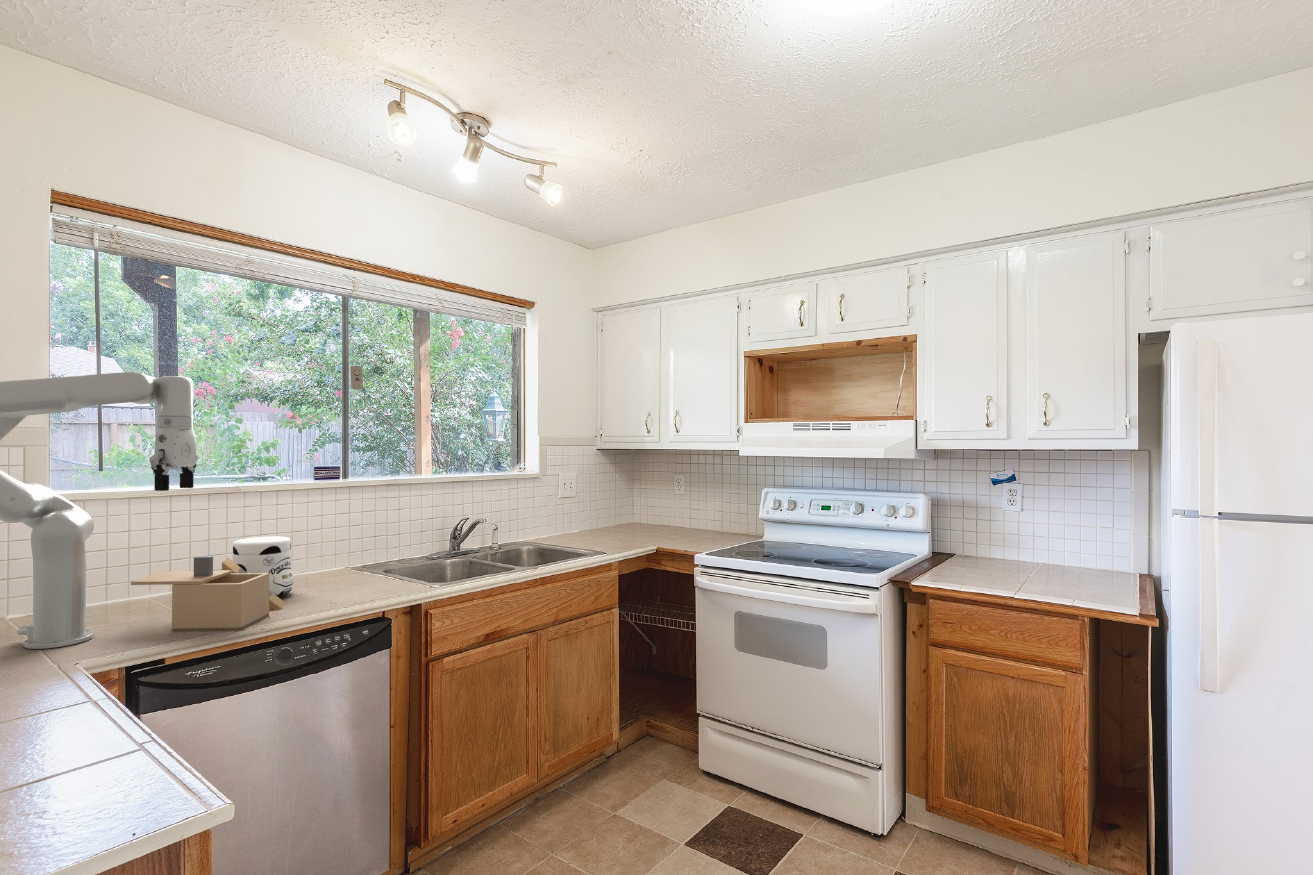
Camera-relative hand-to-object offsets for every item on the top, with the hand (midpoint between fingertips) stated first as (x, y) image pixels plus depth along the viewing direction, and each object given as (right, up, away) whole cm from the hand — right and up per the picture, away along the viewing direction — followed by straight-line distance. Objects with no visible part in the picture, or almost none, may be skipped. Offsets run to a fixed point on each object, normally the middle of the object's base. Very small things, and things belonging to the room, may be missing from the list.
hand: (174, 489), depth 171 cm
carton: (+10, -36, +4) cm, 38 cm away
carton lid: (0, -24, +4) cm, 25 cm away
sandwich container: (+9, -37, +21) cm, 43 cm away
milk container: (+2, -37, +34) cm, 50 cm away
